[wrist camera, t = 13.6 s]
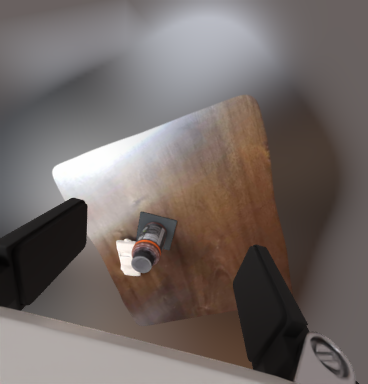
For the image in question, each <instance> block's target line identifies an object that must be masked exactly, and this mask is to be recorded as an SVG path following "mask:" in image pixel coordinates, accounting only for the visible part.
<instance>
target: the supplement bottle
mask: <svg viewBox="0 0 368 384" xmlns="http://www.w3.org/2000/svg"><path fill="white" fill-rule="evenodd" d="M166 234H167V233H166V229H165V228H164V226H163V225H161V224H159V223H157V222H151V223H148V224H147V225H146V226H145V227H144V228H143V230H142V232H141V234H140V235H139V237H138V239H137V241H136V243H135V245H134V246H133V249H132V252H131V254H132V258H133V259H132V261H131V265H132V268H133V269H134V270H135V271H137V272H140V273H146V272H148V271H150V270H151V268H152V266H153V265H155V264H156V263H157V262H158V261H159V259H160V255H161V252H162V249H163V246H164V242H165V239H166Z"/></svg>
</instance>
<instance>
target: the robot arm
mask: <svg viewBox="0 0 368 384" xmlns="http://www.w3.org/2000/svg"><path fill="white" fill-rule="evenodd" d="M86 235H87V204H85V201H84V200H80V199H77V198H71V199H69V200H67V201H65V202H64V203H62V204H60V205H58V206H57V207H55V208H53V209H51V210H49V211H48V212H46V213H44V214H42V215H41V216H39V217H37V218H36V219H34V220H32V221H30V222H28V223H26V224H25V225H23V226H21V227H20V228H18V229H16V230H14V231H12V232H11V233H9V234H7V235H5V236H4V237H2V238H0V384H359V383H358V382H357V381H356V380H355V374H354V370H353V368H352V365H351V363H350V361H349V360H348V359H347V357H346V356H345V354H344V353H343V352H342V351H341V350H340V348H338V346H337V345H336V344H334V343H333V342H332V341H331V340H330V339H328V338H327V337H325V336H323V335H322V334H320V333H317V332H309V330H308V328H307V326H306V325H308V324H307V322H306V320H305V318H304V316H303V315H302V313H301V311H300V309H299V307H298V305H297V303H296V301H295V300H294V298H293V296H292V294H291V292H290V290H289V289H288V287H287V285H286V283H285V281H284V279H283V277H282V276H281V274H280V272H279V270H278V268H277V266H276V265H275V263H274V261H273V259H272V257H271V255H270V254H269V252H268V250H267V248H266V247H263V246H259V245H253V246H250V248H249V250H248V252H247V254H246V256H245V258H244V260H243V262H242V264H241V266H240V268H239V270H238V272H237V275H236V277H235V279H234V281H233V289H234V294H235V299H236V303H237V308H238V313H239V318H240V323H241V327H242V332H243V337H244V342H245V347H246V352H247V357H248V359H249V361H250V362H252V366H253V370H252V369H248V368H245V367H241V366H238V365H234V364H230V363H226V362H222V361H219V360H215V359H211V358H207V357H203V356H199V355H196V354H192V353H187V352H184V351H180V350H176V349H172V348H168V347H164V346H160V345H156V344H152V343H148V342H145V341H141V340H137V339H132V338H129V337H125V336H121V335H116V334H113V333H109V332H105V331H101V330H97V329H93V328H89V327H85V326H81V325H76V324H72V323H69V322H64V321H60V320H56V319H52V318H48V317H44V316H40V315H36V314H32V313H28V312H24V311H21V310H22V309H23V308H24V307H25V306H26V305H30V304H31V303H32V302H33V301H34V300H35V299H36V298H37V297H38V296H39V295H40V294H41V293H42V292H43V291H44V290H45V289H46V288H47V286H49V285H50V284H51V282H52V281H53V280H54V279H55V278H56V277H57V276H58V275H59V274H60V273H61V272H62V271H63V270H64V269H65V268H66V267H67V265H68V264H69V263H70V262H71V261H72V260H73V259H74V258H75V257H76V256H77V255H78V254H79V253H80V252H81V251H82V250H83V249H84V247H85V245H86Z"/></svg>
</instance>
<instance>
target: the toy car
mask: <svg viewBox="0 0 368 384" xmlns="http://www.w3.org/2000/svg"><path fill="white" fill-rule="evenodd" d="M135 243H136V241H131V240H128V239H124V240H123V241H122V240H117V241H116V244H117V250H118V253H119V258H120V262H121V270H122V271H123V272H124V274H125V275H131V276H140V272H137V271H135V270H134V269H133V268H132V265H131V261H132V259H133V258H132V254H131V252H132V249H133V246H134V245H135Z"/></svg>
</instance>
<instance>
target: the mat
mask: <svg viewBox="0 0 368 384" xmlns="http://www.w3.org/2000/svg"><path fill="white" fill-rule="evenodd" d="M151 222H157V223H159V224H161V225H163V226H164V228H165V229H166V233H167V234H166V239H165V242H164V246H163V249H166V250H170V246H171V242H172V239H173V235H174V231H175V227H176V223H177V221H176V220H172V219H169V218H165V217H161V216H157V215H153V214H149V213H145V212H141V213H140V219H139V225H138V231H137V237H136V241H137V239H138V237H139V235H140V234H141V232H142V230H143V228H144V227H145V226H146V225H147V224H148V223H151Z"/></svg>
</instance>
